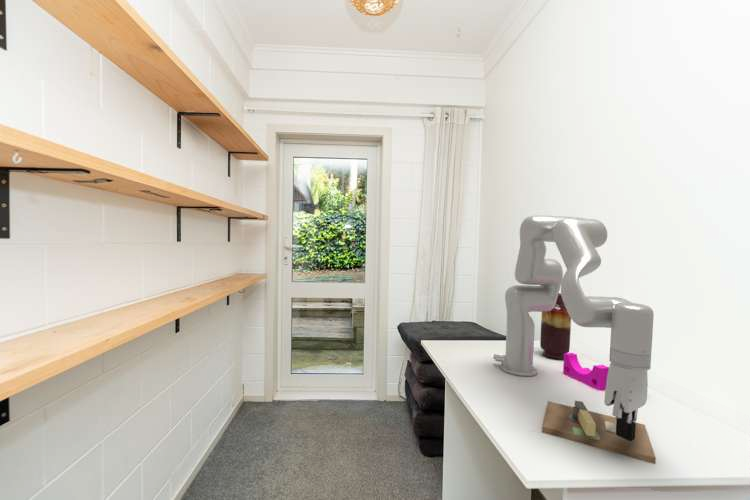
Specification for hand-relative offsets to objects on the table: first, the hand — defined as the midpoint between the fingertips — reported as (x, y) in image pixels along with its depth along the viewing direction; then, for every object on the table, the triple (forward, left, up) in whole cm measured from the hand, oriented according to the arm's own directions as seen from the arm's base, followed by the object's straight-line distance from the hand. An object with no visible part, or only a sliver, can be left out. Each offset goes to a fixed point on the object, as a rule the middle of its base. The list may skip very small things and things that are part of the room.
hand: (625, 437), depth 79 cm
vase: (-19, +67, -4) cm, 70 cm away
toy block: (-7, +44, -4) cm, 45 cm away
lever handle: (-9, +6, -2) cm, 11 cm away
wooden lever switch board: (-6, +5, -4) cm, 9 cm away
